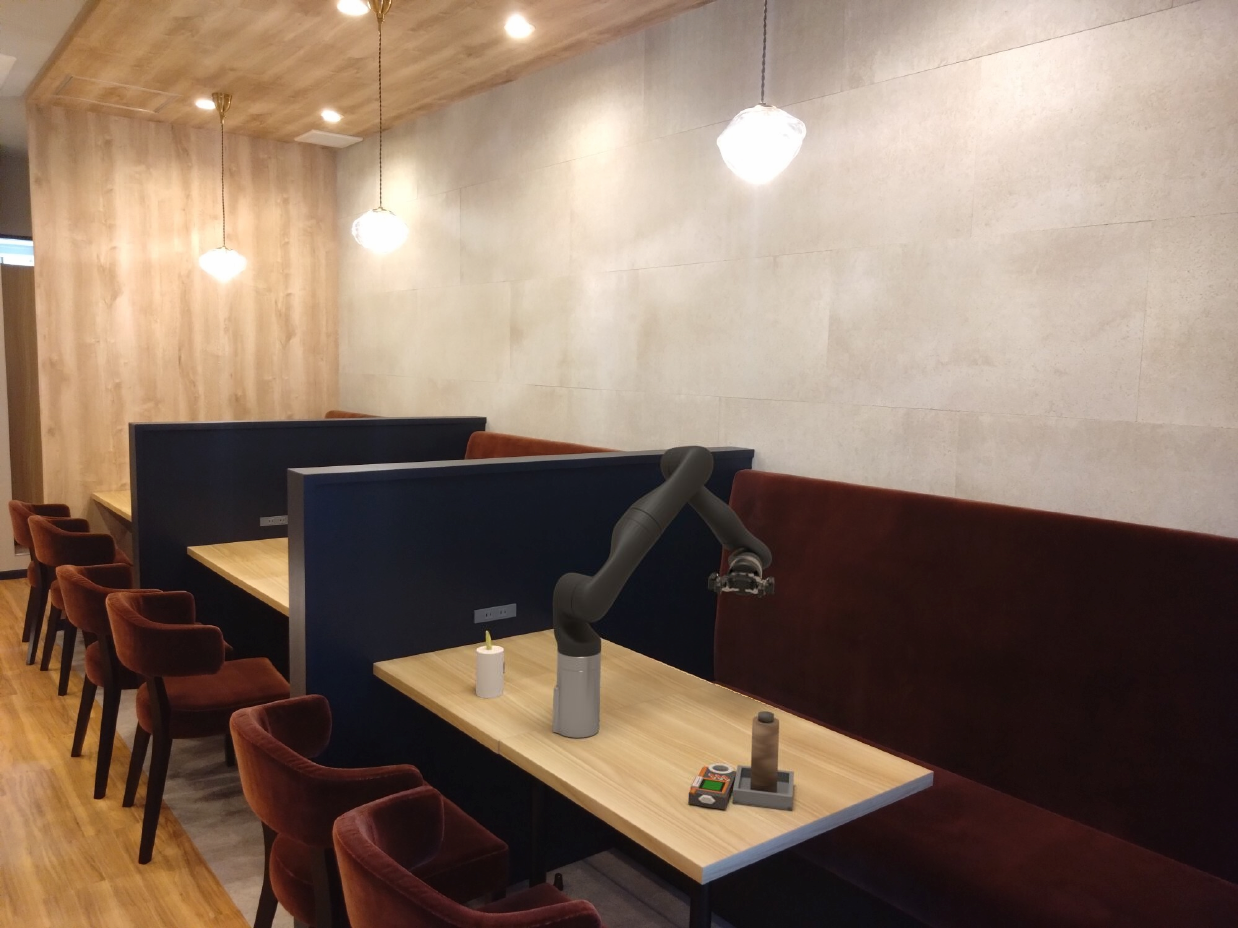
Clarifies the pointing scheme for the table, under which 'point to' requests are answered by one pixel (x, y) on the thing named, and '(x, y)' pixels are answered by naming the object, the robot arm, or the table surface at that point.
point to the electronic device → (713, 786)
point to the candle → (489, 670)
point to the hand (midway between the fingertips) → (739, 591)
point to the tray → (761, 798)
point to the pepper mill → (764, 752)
